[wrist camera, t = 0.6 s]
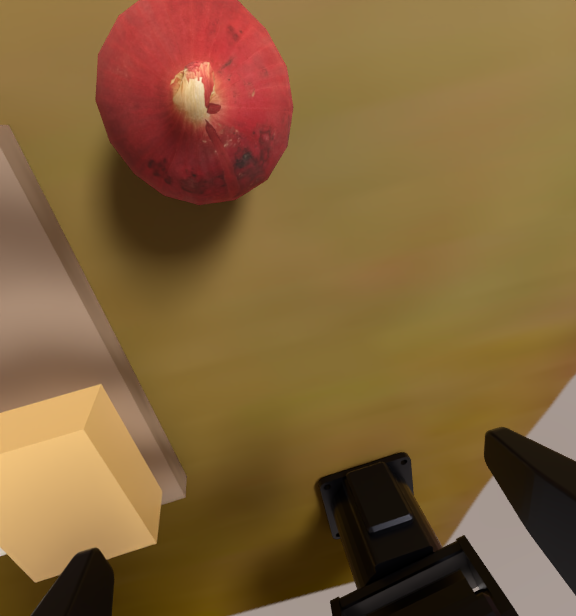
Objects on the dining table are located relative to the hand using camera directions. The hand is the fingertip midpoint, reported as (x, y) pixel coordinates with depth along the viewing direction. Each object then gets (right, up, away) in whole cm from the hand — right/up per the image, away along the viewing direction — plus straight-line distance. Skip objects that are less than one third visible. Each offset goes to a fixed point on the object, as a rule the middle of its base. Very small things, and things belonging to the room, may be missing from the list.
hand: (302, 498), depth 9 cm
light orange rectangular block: (-11, -4, +11) cm, 16 cm away
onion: (-4, +12, +7) cm, 15 cm away
